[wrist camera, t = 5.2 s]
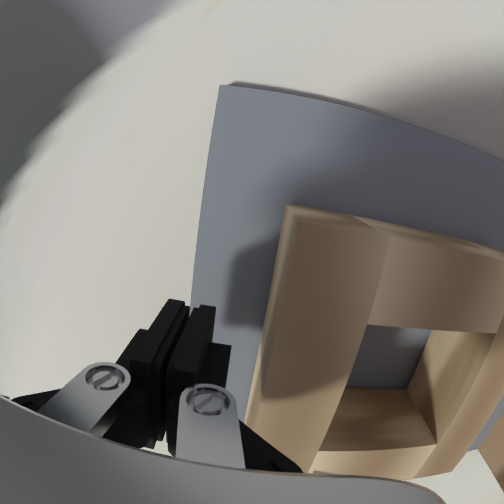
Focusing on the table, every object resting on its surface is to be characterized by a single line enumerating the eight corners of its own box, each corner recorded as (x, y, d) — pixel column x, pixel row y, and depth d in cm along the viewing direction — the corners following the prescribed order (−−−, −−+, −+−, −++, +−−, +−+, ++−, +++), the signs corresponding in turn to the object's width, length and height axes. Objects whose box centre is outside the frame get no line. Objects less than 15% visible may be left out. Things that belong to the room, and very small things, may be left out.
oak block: (495, 247, 12) (553, 274, 8) (425, 421, 14) (451, 471, 10) (285, 202, 11) (298, 221, 8) (244, 417, 14) (240, 482, 10)
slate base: (590, 212, 11) (595, 213, 11) (499, 438, 16) (502, 442, 16) (221, 87, 11) (220, 84, 11) (183, 445, 16) (181, 451, 15)
